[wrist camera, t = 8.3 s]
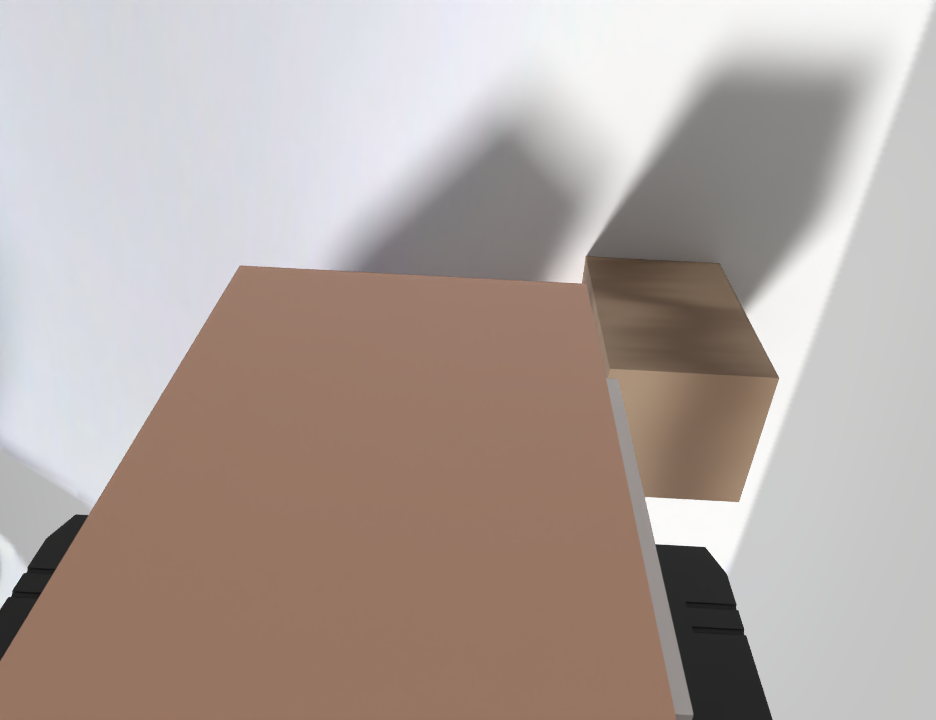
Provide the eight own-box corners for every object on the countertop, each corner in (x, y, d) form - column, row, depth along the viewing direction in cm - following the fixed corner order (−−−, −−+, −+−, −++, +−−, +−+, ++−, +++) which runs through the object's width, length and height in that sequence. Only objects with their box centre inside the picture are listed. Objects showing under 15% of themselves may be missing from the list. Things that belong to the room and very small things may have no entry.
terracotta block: (272, 515, 17) (92, 1058, 9) (240, 265, 13) (-81, 795, 6) (550, 530, 17) (595, 1085, 9) (586, 284, 13) (700, 835, 6)
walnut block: (570, 366, 38) (587, 493, 31) (585, 256, 35) (609, 368, 28) (692, 373, 38) (739, 502, 31) (719, 263, 35) (779, 378, 28)
